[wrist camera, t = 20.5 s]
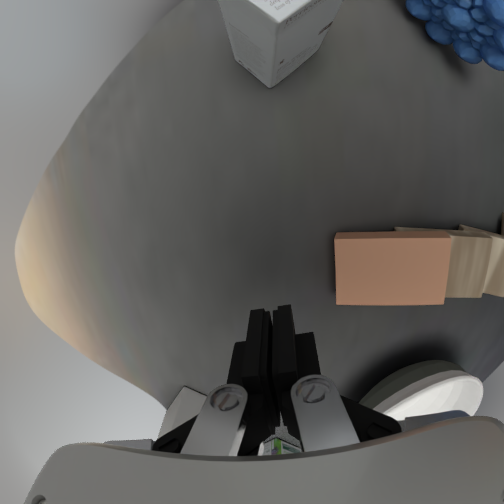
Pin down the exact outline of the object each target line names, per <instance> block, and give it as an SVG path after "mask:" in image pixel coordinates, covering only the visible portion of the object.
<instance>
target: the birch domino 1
mask: <svg viewBox="0 0 504 504" xmlns="http://www.w3.org/2000/svg"><path fill="white" fill-rule="evenodd" d="M394 231H446V232H447V234H448V235H449V236H450V237H451V238H452V239H451V252H450V262H449V271H448V279H447V286H446V293H445V297H453V298H481V296H482V292H483V288H484V284H485V279H486V275H487V270H488V265H489V260H490V254H491V248H492V242H493V238H492V237H491V236H489V235H488V234H487V233H485V232H474V231H460V230H444V229H427V228H407V227H394Z"/></svg>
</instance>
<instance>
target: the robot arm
mask: <svg viewBox="0 0 504 504" xmlns="http://www.w3.org/2000/svg"><path fill="white" fill-rule="evenodd" d="M280 411H281V415H282V419H283V423H284V426H287V429H288V433H289V434H290V435H292V436H293V437H295V438H296V439H298V440H299V442H300V446H301V451H302V452H300V453H290V454H278V455H262V454H263V450H264V444H265V442H264V441H265V440H266V439H267V438H268V437H270V436H271V435H273V434H275V427H279V426H280ZM24 504H504V424H503V423H502V422H501V421H499V420H498V419H495V418H492V417H487V416H470V415H469V414H467V413H466V412H465V411H462V410H451V411H446V412H440V413H434V414H427V415H420V416H412V417H405V420H400V421H397V420H395V419H394V418H392V417H390V416H387V415H385V414H382V413H380V412H378V411H375V410H373V409H370V408H368V407H366V406H363V405H361V404H359V403H357V402H354V401H352V400H350V399H348V398H345V397H343V396H341V395H339V393H338V390H337V388H336V386H335V384H334V382H333V381H332V380H331V379H330V378H328V377H326V376H323V375H321V373H320V367H319V361H318V355H317V350H316V344H315V339H314V334H313V332H309V333H303V334H295V328H294V322H293V315H292V309H291V304H290V305H283V306H278V310H273V326H272V321H271V316H270V312H269V311H266V312H265V310H264V308H263V309H256V310H251V311H250V317H249V324H248V331H247V337H246V341H242V342H236V343H235V345H234V350H233V355H232V360H231V365H230V369H229V374H228V379H227V384H225V385H221V386H218V387H216V388H215V389H213V390H212V391H211V392H210V393H209V394H208V396H207V397H206V399H205V401H204V404H203V406H202V408H201V410H200V412H199V414H198V415H196V416H194V417H193V418H191V419H190V420H188V421H186V422H185V423H183V424H181V425H180V426H178V427H176V428H175V429H173V430H171V431H170V432H168V433H166V434H164V435H163V436H161V437H160V438H159V439H157V440H156V441H153V440H152V439H143V440H126V441H125V440H124V441H108V442H105V443H75V444H69V445H66V446H62V447H61V448H59V449H57V450H56V451H55V452H54V453H53V454H52V455H51V457H50V458H49V460H48V461H47V462H46V464H45V465H44V467H43V468H42V470H41V472H40V473H39V475H38V477H37V479H36V480H35V483H34V484H33V486H32V488H31V490H30V492H29V494H28V496H27V498H26V500H25V503H24Z"/></svg>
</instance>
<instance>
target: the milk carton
mask: <svg viewBox="0 0 504 504" xmlns="http://www.w3.org/2000/svg"><path fill="white" fill-rule="evenodd" d="M206 397H207V396H205V395H202V394H200V393H198V392H196V391H193V390H191V389H189V388H187V387H183V388H182V390H181V391H180V393H179V394H178V395H177V397H176V398H175V400H174V401H173V403H172V404H171V405H170V407H169V408H168V410H167V411H166V414H165V417H164V420H163V423H162V426H161V429H160V432H159V435H158V439H159V438H160V437H161V436H163V435H164V434H166V433H168V432H170V431H171V430H173V429H175V428H176V427H178V426H180V425H181V424H183V423H185V422H186V421H188V420H190V419H191V418H193V417H194V416H196V415H198V414H199V412H200V410H201V408H202V406H203V404H204V401H205V399H206Z"/></svg>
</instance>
